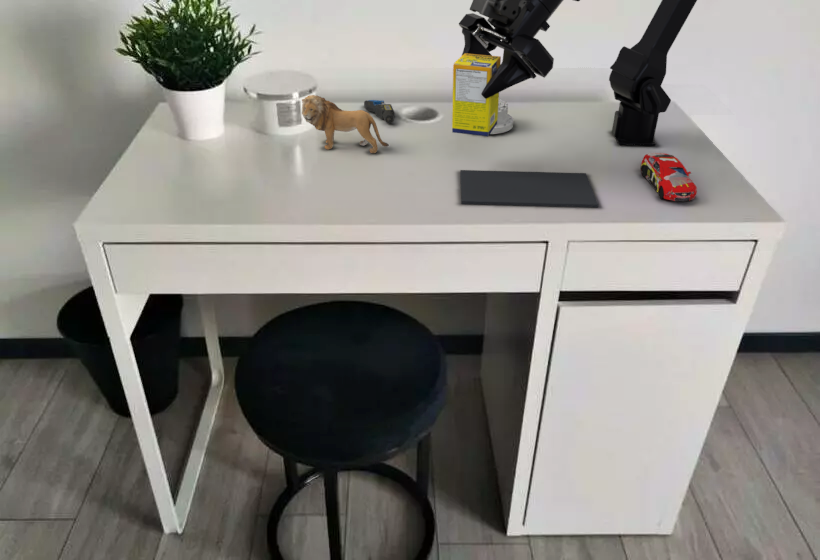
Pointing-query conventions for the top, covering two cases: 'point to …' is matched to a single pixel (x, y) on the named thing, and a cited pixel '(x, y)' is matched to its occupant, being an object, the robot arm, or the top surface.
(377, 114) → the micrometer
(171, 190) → the top surface
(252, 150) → the top surface
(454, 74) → the supplement box
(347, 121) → the lion figurine
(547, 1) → the robot arm
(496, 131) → the mechanical component
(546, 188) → the desk pad
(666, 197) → the race car
